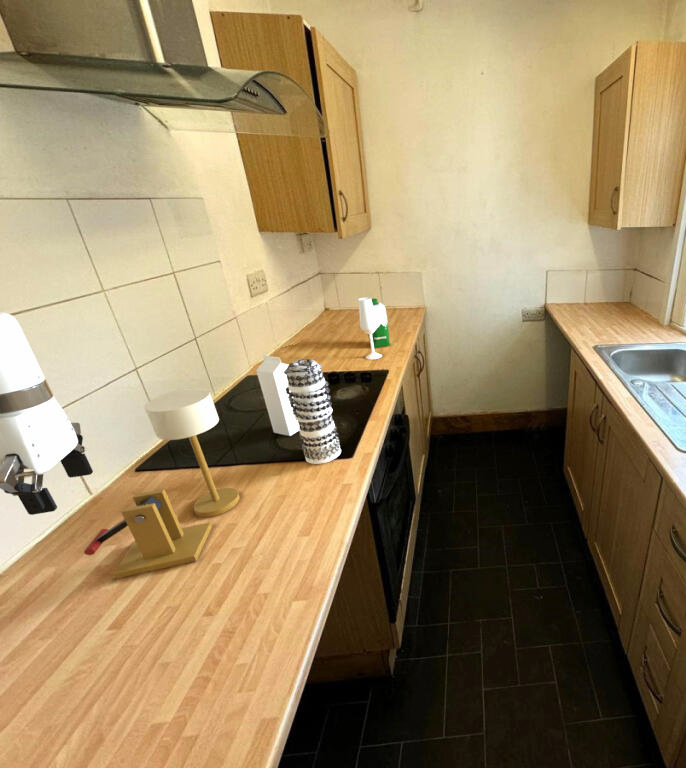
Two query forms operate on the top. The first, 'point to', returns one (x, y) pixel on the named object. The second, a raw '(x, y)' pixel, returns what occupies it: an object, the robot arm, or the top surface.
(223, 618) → the top surface
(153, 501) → the switch lever
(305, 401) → the decorative candle
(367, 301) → the champagne flute
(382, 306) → the milk carton
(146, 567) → the switch bracket
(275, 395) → the milk
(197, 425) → the table lamp
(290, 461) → the top surface
